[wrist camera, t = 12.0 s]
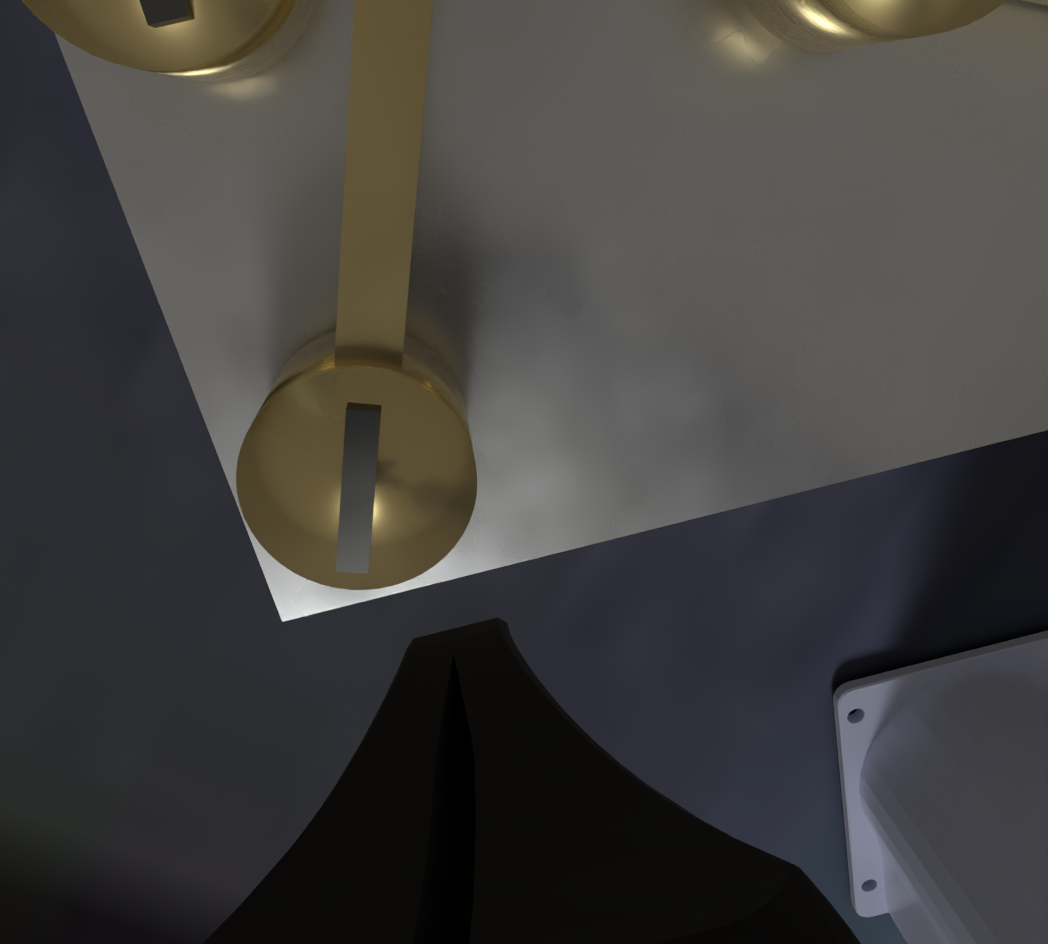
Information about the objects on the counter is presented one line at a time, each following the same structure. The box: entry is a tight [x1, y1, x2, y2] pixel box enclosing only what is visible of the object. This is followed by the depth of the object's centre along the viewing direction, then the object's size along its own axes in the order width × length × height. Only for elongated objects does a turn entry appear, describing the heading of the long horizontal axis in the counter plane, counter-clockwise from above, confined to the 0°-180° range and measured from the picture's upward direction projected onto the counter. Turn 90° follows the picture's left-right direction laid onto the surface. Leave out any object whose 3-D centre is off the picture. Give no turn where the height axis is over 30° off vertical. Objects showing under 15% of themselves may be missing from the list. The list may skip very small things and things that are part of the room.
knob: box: [236, 0, 477, 590], centre depth 16 cm, size 11×4×4 cm, turn 172°
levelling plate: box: [21, 0, 1048, 622], centre depth 17 cm, size 17×20×6 cm
